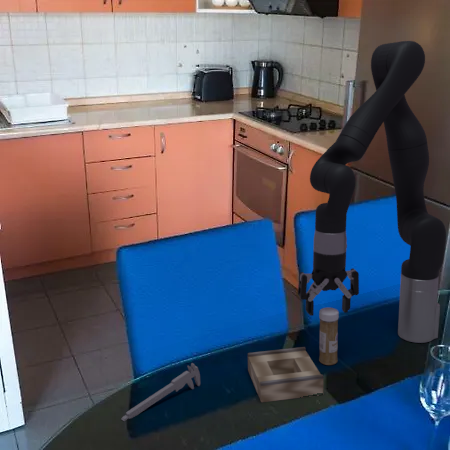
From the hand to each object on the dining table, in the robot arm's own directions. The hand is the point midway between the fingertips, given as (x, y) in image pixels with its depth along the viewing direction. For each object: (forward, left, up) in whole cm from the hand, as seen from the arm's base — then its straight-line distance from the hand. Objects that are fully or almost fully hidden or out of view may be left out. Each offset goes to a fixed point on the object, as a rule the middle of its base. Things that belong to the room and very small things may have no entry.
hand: (327, 312), depth 141 cm
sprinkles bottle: (0, 0, -13) cm, 13 cm away
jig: (+13, +7, -13) cm, 19 cm away
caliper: (+41, +9, -13) cm, 44 cm away
